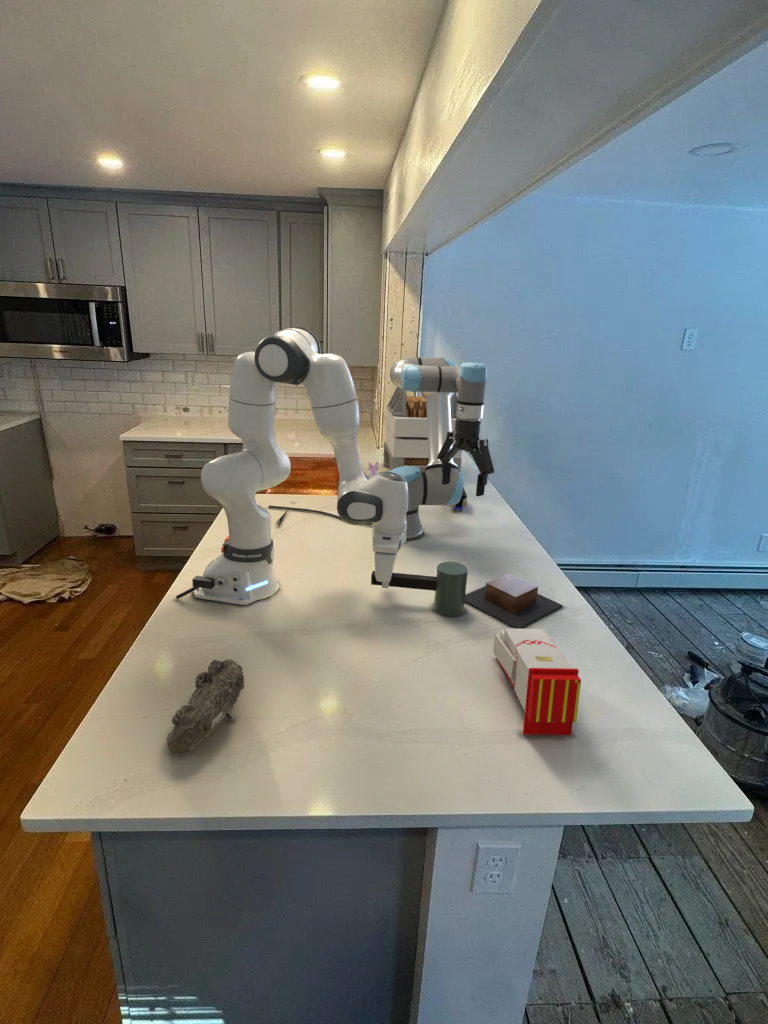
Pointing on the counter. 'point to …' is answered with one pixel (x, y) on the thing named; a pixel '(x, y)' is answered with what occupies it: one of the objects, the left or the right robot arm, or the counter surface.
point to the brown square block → (511, 593)
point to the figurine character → (461, 502)
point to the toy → (539, 680)
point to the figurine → (372, 470)
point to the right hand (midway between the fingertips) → (462, 489)
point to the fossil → (206, 705)
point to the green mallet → (437, 586)
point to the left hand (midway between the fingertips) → (386, 582)
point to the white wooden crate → (411, 431)
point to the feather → (281, 519)
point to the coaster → (513, 620)
